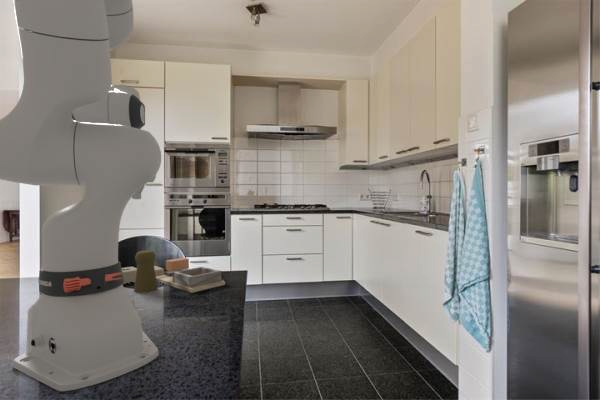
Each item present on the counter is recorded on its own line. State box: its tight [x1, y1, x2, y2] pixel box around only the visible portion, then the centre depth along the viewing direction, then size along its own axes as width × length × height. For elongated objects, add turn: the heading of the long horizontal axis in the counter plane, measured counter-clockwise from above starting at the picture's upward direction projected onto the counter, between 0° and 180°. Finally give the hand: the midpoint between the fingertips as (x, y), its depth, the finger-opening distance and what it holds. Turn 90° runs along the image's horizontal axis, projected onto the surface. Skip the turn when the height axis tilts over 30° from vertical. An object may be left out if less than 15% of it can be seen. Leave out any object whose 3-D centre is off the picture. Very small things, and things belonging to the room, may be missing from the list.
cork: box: [133, 250, 158, 294], centre depth 95 cm, size 6×6×11 cm
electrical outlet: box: [121, 265, 165, 285], centre depth 107 cm, size 7×4×18 cm
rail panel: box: [156, 266, 226, 294], centre depth 103 cm, size 22×11×4 cm, turn 50°
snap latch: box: [165, 257, 190, 271], centre depth 107 cm, size 3×6×3 cm, turn 140°
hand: (124, 198), depth 93 cm, fingers open, 8 cm apart
